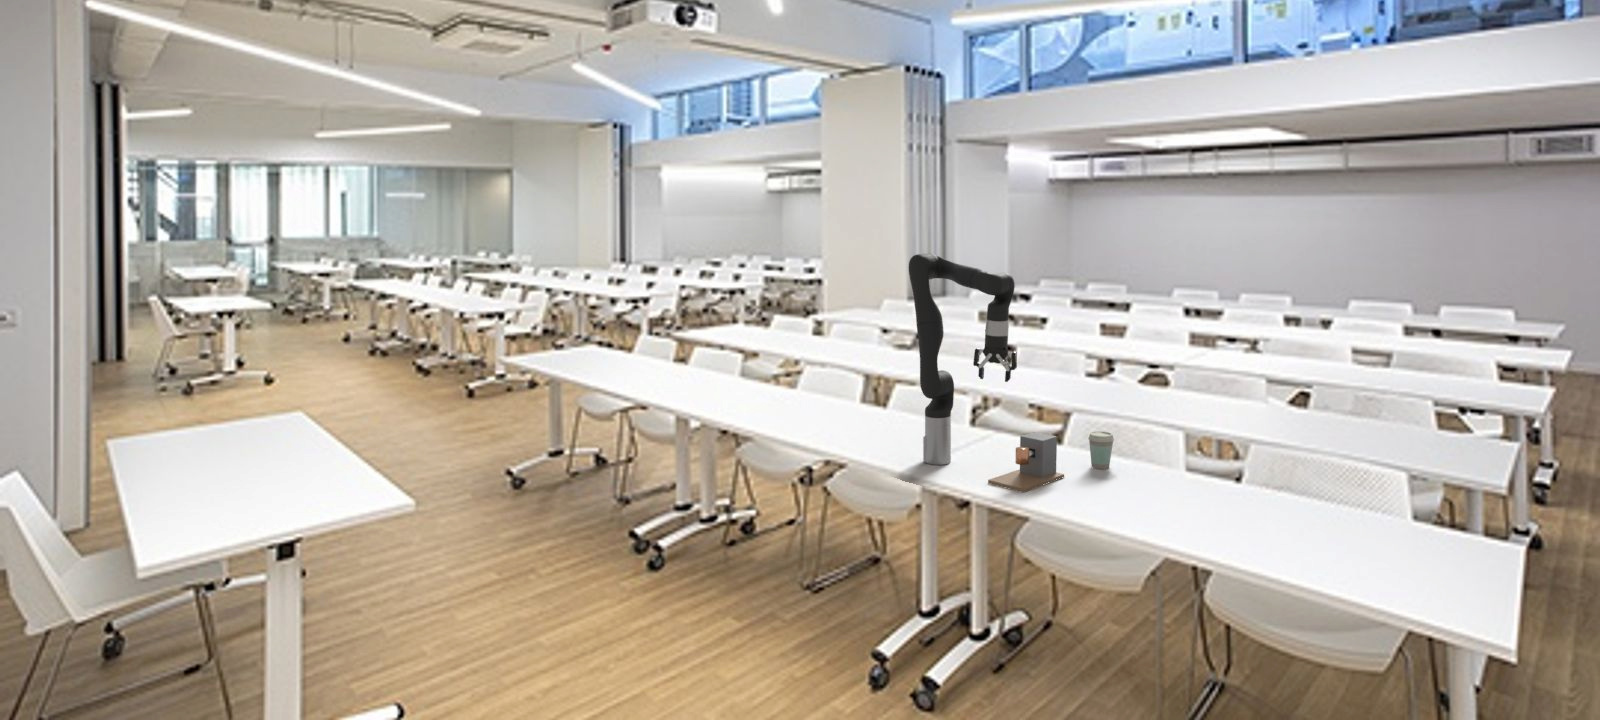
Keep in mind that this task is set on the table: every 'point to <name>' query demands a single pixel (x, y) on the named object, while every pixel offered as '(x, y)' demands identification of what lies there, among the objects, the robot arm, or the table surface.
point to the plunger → (1023, 455)
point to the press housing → (1033, 464)
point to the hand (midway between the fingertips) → (994, 380)
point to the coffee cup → (1100, 449)
